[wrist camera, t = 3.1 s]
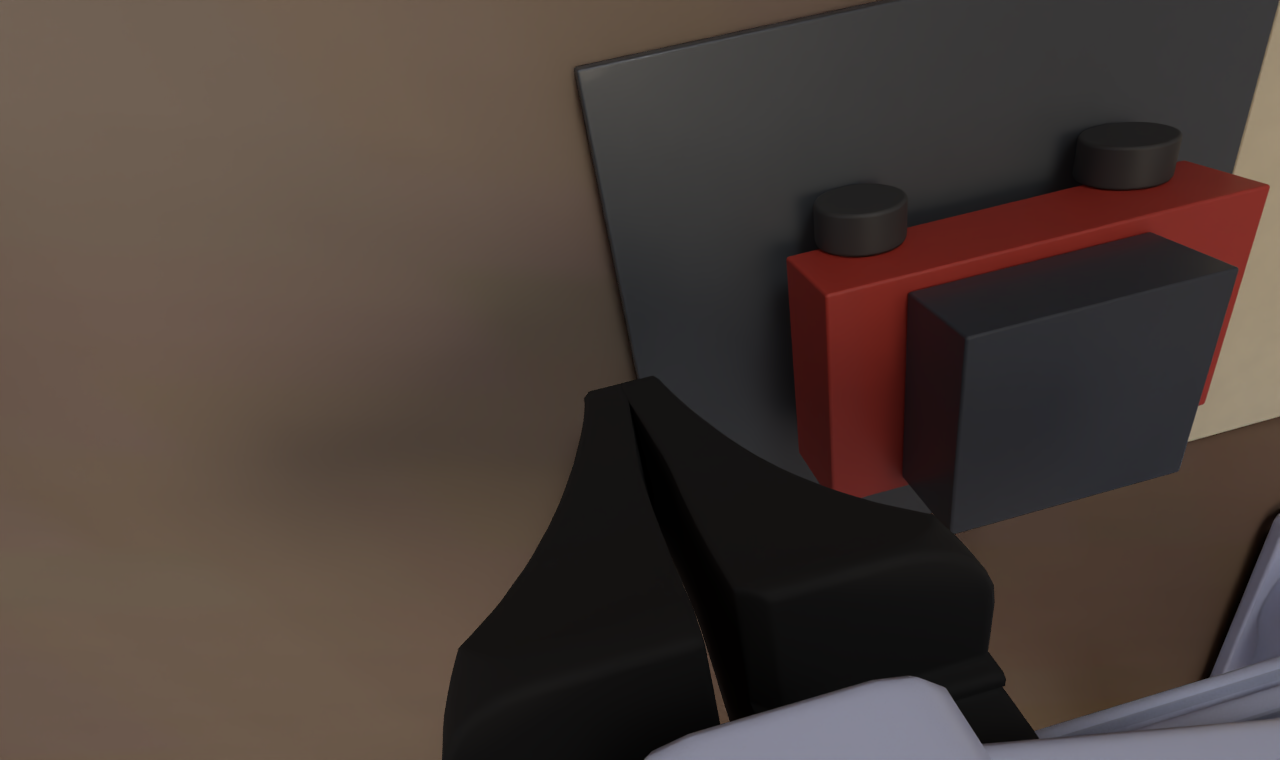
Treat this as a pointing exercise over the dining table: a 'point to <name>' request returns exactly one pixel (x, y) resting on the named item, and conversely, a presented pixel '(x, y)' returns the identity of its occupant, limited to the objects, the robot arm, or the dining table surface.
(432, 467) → the dining table surface
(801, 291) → the toy car
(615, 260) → the road board
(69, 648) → the dining table surface
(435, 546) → the dining table surface
